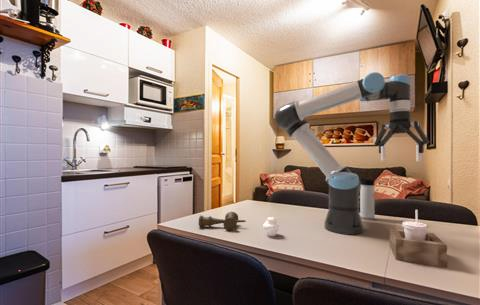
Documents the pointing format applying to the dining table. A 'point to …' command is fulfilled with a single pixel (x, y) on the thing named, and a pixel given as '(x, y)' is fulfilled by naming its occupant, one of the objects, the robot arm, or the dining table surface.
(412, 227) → the smoothie
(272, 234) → the white vase
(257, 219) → the dining table surface
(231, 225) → the kendama
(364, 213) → the travel mug
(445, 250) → the brown open square box
